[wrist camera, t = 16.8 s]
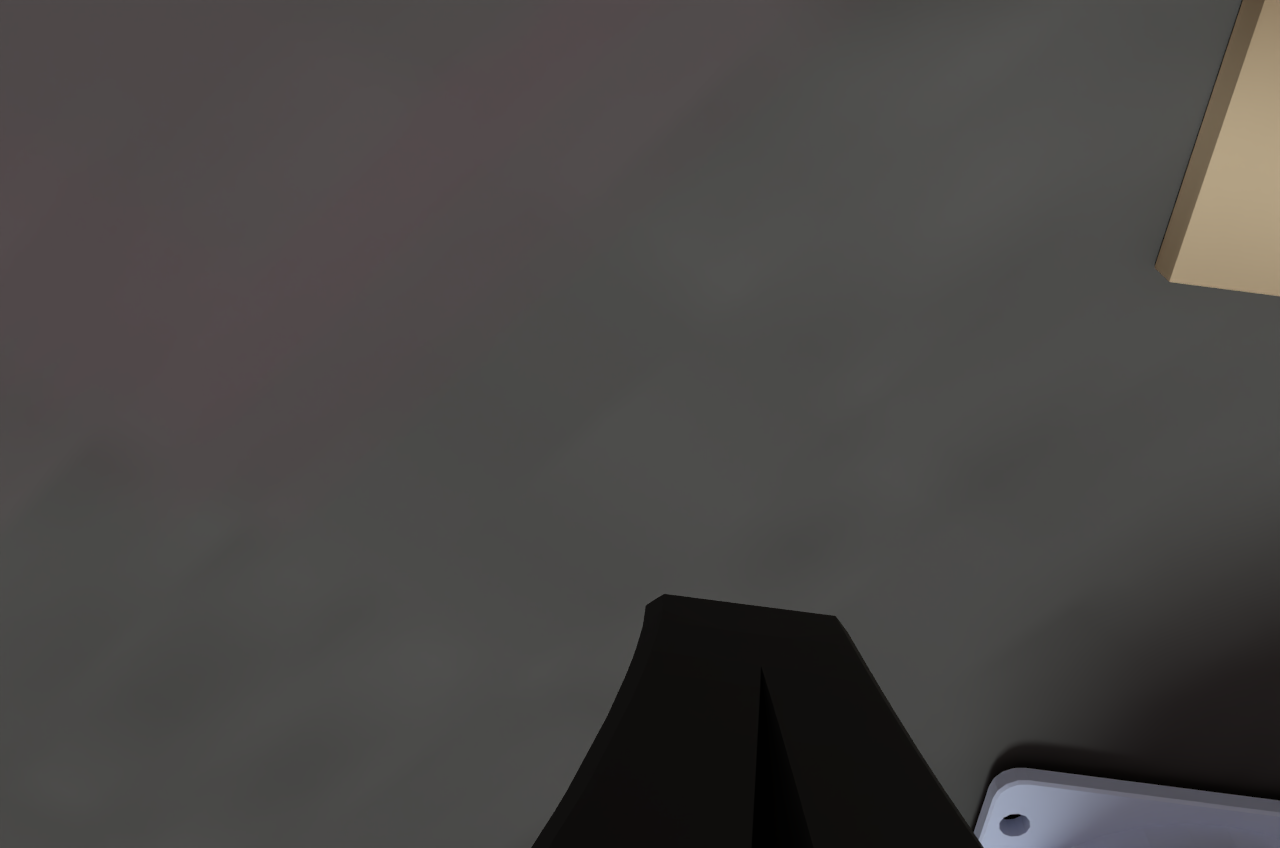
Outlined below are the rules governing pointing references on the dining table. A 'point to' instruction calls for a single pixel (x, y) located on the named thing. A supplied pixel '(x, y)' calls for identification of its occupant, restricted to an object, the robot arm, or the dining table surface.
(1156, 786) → the robot arm
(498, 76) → the dining table surface
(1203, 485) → the dining table surface
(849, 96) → the dining table surface
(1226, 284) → the oak board
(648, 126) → the dining table surface
